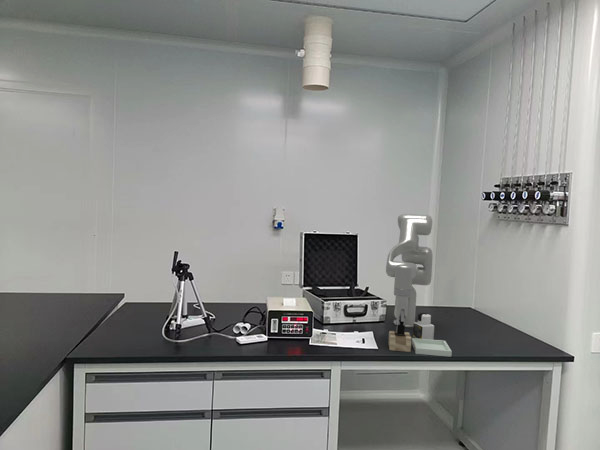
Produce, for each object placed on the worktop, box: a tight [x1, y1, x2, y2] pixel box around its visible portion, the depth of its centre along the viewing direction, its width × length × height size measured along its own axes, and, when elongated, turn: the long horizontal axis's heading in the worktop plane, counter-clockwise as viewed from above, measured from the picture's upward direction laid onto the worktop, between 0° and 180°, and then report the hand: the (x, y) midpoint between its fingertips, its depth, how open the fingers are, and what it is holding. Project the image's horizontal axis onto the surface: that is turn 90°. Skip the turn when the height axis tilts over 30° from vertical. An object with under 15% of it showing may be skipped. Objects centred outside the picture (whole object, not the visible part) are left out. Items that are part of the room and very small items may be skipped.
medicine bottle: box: [412, 312, 435, 340], centre depth 220 cm, size 7×7×12 cm
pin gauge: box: [396, 317, 404, 336], centre depth 204 cm, size 3×3×12 cm
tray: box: [411, 337, 453, 358], centre depth 203 cm, size 15×15×2 cm
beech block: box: [388, 330, 412, 353], centre depth 204 cm, size 9×9×6 cm
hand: (400, 332), depth 204 cm, fingers closed on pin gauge, 3 cm apart
